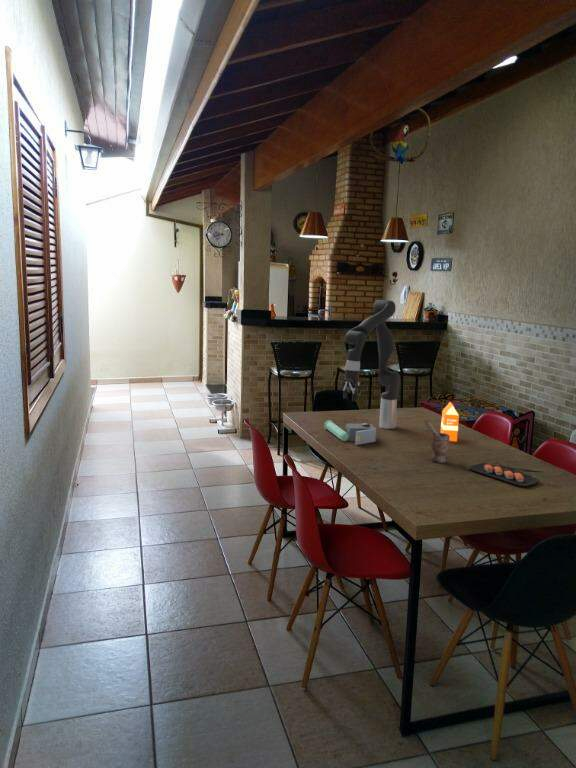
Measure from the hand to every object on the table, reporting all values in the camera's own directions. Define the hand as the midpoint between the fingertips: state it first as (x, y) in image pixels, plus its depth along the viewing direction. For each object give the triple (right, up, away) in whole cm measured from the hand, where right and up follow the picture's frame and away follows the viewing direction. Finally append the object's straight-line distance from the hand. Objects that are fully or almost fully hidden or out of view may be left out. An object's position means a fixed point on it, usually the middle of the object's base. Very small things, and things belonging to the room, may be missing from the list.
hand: (349, 399), depth 302 cm
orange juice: (+56, -22, +14) cm, 62 cm away
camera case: (+6, -21, +8) cm, 23 cm away
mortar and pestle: (+38, -29, -26) cm, 55 cm away
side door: (+9, -23, -2) cm, 24 cm away
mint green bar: (-6, -20, +13) cm, 25 cm away
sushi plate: (+70, -33, -40) cm, 87 cm away
